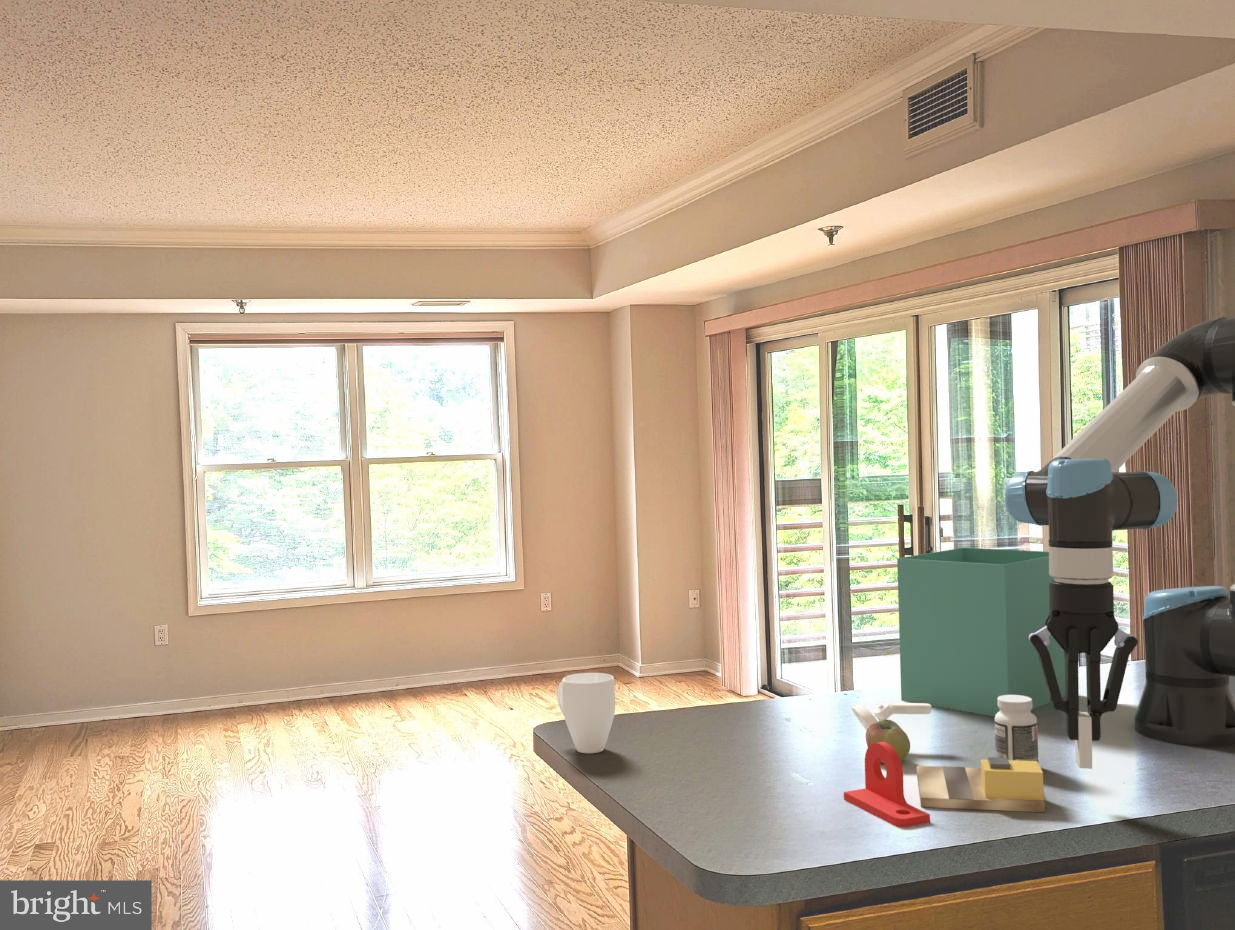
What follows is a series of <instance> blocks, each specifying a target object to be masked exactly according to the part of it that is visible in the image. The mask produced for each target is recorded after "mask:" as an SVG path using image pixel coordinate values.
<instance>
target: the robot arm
mask: <svg viewBox="0 0 1235 930" xmlns="http://www.w3.org/2000/svg"><path fill="white" fill-rule="evenodd" d="M1222 394H1223V395H1225V394H1226V395H1231V394H1232V395H1231V405H1232V406H1234V407H1235V316H1227V317H1226V316H1225V317H1224V316H1223V317H1215V318H1211V319H1208V320H1205V321H1202V322H1200V323H1197V324H1195V325H1193V326H1191V327H1189V328H1188V329H1186V330H1184V331H1182V332H1180V333H1178V334H1177V335H1175V336H1174V337H1172V338H1171V339H1169V340H1168V341H1166V342H1165V343H1163V345H1162V344H1161V346H1160V347H1158V348H1157V349H1156V350H1155V351H1154V352H1152V354H1150V355H1149V356H1148V357H1147V358H1146V359H1145V360H1143V362H1142V363H1141V364H1140V365H1139V366H1138V368H1137V370H1136V373H1135V379H1134V380H1133V381H1132V382H1131V383H1129V384H1128V385H1127V386H1126V387H1125V388H1124V389H1123V390H1122V391H1121V392H1120V393H1119V394H1118V395H1117V396H1116V397H1115V398H1114V399H1113V400H1112V401H1110V402H1109V403H1108V405H1106V406H1105V407H1104V409H1102V410H1101V412H1099V413H1098V414H1097V415H1096V416H1095V417H1094V418H1093V419H1092V420H1091V421H1090V422H1089V423H1088V424H1087V425H1086V426H1085V427H1084V428H1083V429H1081V431H1080V432H1078V434H1076V435H1075V436H1074V437H1073V438H1072V439H1071V440H1070V441H1069V442H1068V443H1067V444H1065V446H1064V447H1062V449H1060V451H1058V453H1057V454H1055V456H1054V457H1053V458H1051V459H1050V460H1049V461H1048V462H1047V463H1046V464H1045V465H1044V466H1043V467H1042V468H1041V469H1039V470H1038V471H1034V470H1029V471H1027V472H1024V471H1023V472H1019V473H1017V474H1016V473H1015V474H1014V475H1013V476H1012V477H1011V478H1010V479H1009V481H1008V482H1007V485H1006V488H1005V491H1004V502H1005V504H1004V505H1005V507H1006V508H1007V511H1008V513H1009V514H1010V515H1009V516H1010V517H1012V518H1013V520H1015V521H1017V522H1019V523H1021V524H1022V523H1023V524H1031V525H1035V526H1039V527H1040V526H1041V527H1042V526H1048V552H1049V575H1050V576H1051V577H1053V578H1054V580H1053V581H1051V583H1049V608H1050V612H1049V616H1048V618H1047V620H1046V623H1045V627H1043V628H1042V629H1040V630H1038V631H1037V632H1035V633H1034V632H1031V633H1029V634H1028V639H1029V640H1030V642H1031V643H1032V645H1033V646H1034V647H1035V649H1036V650H1037V654H1038V657H1039V661H1040V665H1041V668H1042V672H1043V676H1044V679H1045V683H1046V687H1047V690H1048V694H1049V698H1050V701H1051V702H1050V704H1051V705H1052V706H1053V708H1054V709H1055V710H1057V711H1061V712H1064V713H1065V714H1066V716H1065V719H1066V720H1065V722H1066V725H1065V726H1066V729H1065V730H1066V735H1067V737H1068V739H1069V740H1071V741H1075V742H1074V743H1075V763H1076V764H1077V765H1076V766H1077V767H1078V768H1079V769H1090V770H1091V769H1093V741H1094V742H1099V741H1100V739H1101V737H1102V736H1101V735H1102V731H1101V717H1102V716H1103V714H1105V713H1109V712H1110V713H1111V712H1115V711H1116V709H1117V708H1118V707H1117V706H1118V702H1119V698H1120V694H1121V691H1122V686H1123V682H1124V678H1125V675H1126V669H1127V666H1128V661H1129V658H1130V655H1131V653H1133V651H1134V650H1135V648H1136V646H1137V645H1138V643H1139V642H1138V641H1139V640H1138V638H1137V637H1135V636H1134V635H1132V634H1130V633H1127V632H1125V631H1123V630H1122V629H1120V628H1119V626H1120V625H1119V623H1118V621H1117V620H1116V617H1115V610H1114V609H1115V602H1114V601H1115V599H1114V598H1115V597H1114V596H1115V595H1114V584H1112V582H1110V581H1109V580H1111V578H1113V577H1114V556H1113V555H1114V552H1113V551H1114V550H1113V549H1114V548H1113V531H1126V530H1128V531H1129V530H1144V531H1147V530H1150V529H1153V528H1157V527H1161V526H1163V525H1166V524H1167V523H1168V522H1170V521H1171V519H1172V518H1173V517H1174V516H1175V514H1176V511H1177V509H1178V501H1179V499H1178V494H1177V490H1176V488H1175V485H1174V484H1173V482H1171V480H1170V479H1168V477H1166V476H1165V475H1164V474H1162V473H1158V472H1154V471H1150V472H1149V471H1147V470H1143V471H1139V470H1137V471H1129V472H1124V471H1123V472H1121V471H1120V472H1119V471H1118V470H1119V469H1120V468H1121V467H1122V466H1123V465H1125V463H1126V462H1127V461H1128V460H1129V459H1130V458H1131V457H1132V456H1133V455H1134V454H1135V453H1136V452H1137V451H1138V450H1139V449H1140V448H1141V447H1142V446H1143V445H1144V444H1145V443H1146V442H1147V441H1148V440H1149V439H1150V438H1151V437H1152V436H1154V434H1155V433H1156V432H1157V431H1158V430H1160V428H1161V427H1162V426H1163V425H1164V424H1165V423H1166V422H1167V421H1168V420H1169V419H1170V418H1171V417H1172V416H1173V415H1174V414H1175V413H1176V412H1181V411H1185V410H1188V409H1189V408H1190V407H1192V406H1193V405H1194V404H1195V403H1196V402H1197V401H1198V400H1201V399H1204V398H1207V397H1210V396H1214V395H1215V396H1216V395H1222ZM1117 471H1118V472H1117ZM1144 598H1145V599H1144V605H1143V616H1142V621H1143V633H1144V635H1143V638H1144V640H1143V641H1144V642H1143V643H1144V666H1145V667H1144V669H1145V685H1144V688H1143V690H1142V693H1141V696H1140V699H1139V703H1138V706H1137V708H1136V711H1135V715H1134V730H1135V731H1136V732H1137V733H1138V734H1139V735H1140V736H1143V737H1144V738H1145V737H1146V738H1149V739H1152V740H1154V741H1155V740H1156V741H1160V742H1165V743H1169V744H1175V745H1184V746H1196V747H1197V746H1198V747H1221V746H1222V747H1223V746H1229V745H1230V746H1231V745H1234V744H1235V699H1234V696H1233V693H1232V691H1231V686H1230V685H1231V684H1230V677H1232V678H1234V677H1235V583H1233V584H1232V585H1231V586H1230V588H1229V592H1228V590H1227V588H1226V587H1225V586H1220V585H1219V586H1218V585H1207V586H1204V585H1203V586H1188V587H1187V586H1186V587H1175V588H1165V589H1158V590H1153V591H1150V592H1149V593H1147V595H1146V596H1145V597H1144ZM1050 634H1051V635H1052V636H1053V638H1054V639H1055V640H1056V642H1057V643H1058V644H1059V645H1060V647H1061V648H1062V649H1063V650H1064V658H1065V697H1064V698H1062V697H1061V693H1060V690H1059V686H1058V683H1057V679H1056V675H1055V672H1054V668H1053V664H1052V661H1051V657H1050V654H1049V651H1048V649H1047V646H1048V645H1049V644H1050V641H1049V635H1050ZM1113 638H1114V639H1113ZM1112 639H1113V641H1114V642H1113V643H1114V645H1115V649H1114V652H1113V655H1112V656H1113V657H1112V660H1111V664H1110V668H1109V673H1108V676H1107V680H1106V685H1105V688H1104V693H1103V696H1102V695H1101V693H1102V691H1101V661H1102V655H1101V652H1103V650H1104V649H1105V648H1106V647H1107V646H1108V645H1109V643H1110V642H1111V641H1112ZM1080 654H1085V655H1084V657H1085V669H1086V670H1085V671H1086V678H1085V679H1086V708H1087V711H1080V707H1079V706H1080V702H1079V701H1080V699H1079V698H1080V697H1079V693H1080V692H1079V689H1080V687H1079V686H1080V685H1079V661H1080ZM1101 696H1102V699H1101Z"/></svg>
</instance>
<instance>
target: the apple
mask: <svg viewBox="0 0 1235 930" xmlns="http://www.w3.org/2000/svg"><path fill="white" fill-rule="evenodd" d="M877 721H878V722H876V723H874V724H871V725H870V726H869V727H868V729H867V730H865V731H866V732H865V741H866V742H865V743H866V746H867V748H868V747H869V746H870V745H871V744H873V743H879V742H886V743H888V744H890V745H891V746H892V747H893V748H894V749H895V751H896V752H897V754H898V756H899V758H900V761H901V763H902V762H903V761H904V760H905V759H906V758H907V757H908V755H909V753H910V751H911V741H910V738H909V737H908V734H907V733H906V732H905V731H904V730H903V728H902V727H901V726H900V725H899V724H898V723H897V722H895V721H893V720H891V719H887V720H882V721H879V720H877ZM881 764H884V762H883V761H882V760H881Z"/></svg>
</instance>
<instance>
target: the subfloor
mask: <svg viewBox="0 0 1235 930" xmlns="http://www.w3.org/2000/svg"><path fill="white" fill-rule="evenodd" d="M916 777H917V786H918V787H917V788H918V793H919V795H918V796H919V801H920V802H919V803H920V807H922V808H935V809H936V808H937V809H938V808H940V809H958V810H959V809H960V810H961V809H962V810H963V809H964V810H980V811H981V810H983V811H1007V812H1008V811H1009V812H1025V813H1026V812H1029V813H1030V812H1033V813H1046V802H1045V799H1044V800H1026V799H1002V798H985V795H984V792H983V788H982V782H981V767H966V766H946V765H945V766H944V765H943V766H933V765H916Z"/></svg>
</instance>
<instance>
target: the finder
mask: <svg viewBox="0 0 1235 930" xmlns="http://www.w3.org/2000/svg"><path fill="white" fill-rule="evenodd" d="M980 768H981V782H982V788H983V792H984V795H985V798H1002V799H1026V800H1044V801H1045V799H1044V796H1045V795H1044V794H1045V793H1044V772H1043V770H1042V767H1041V766H1040V764H1038V762H1037V761H1016V760H1008V758H998V757H996V756H995V757H991V756H989V757H987V759H984V758H983V759H980Z"/></svg>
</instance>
